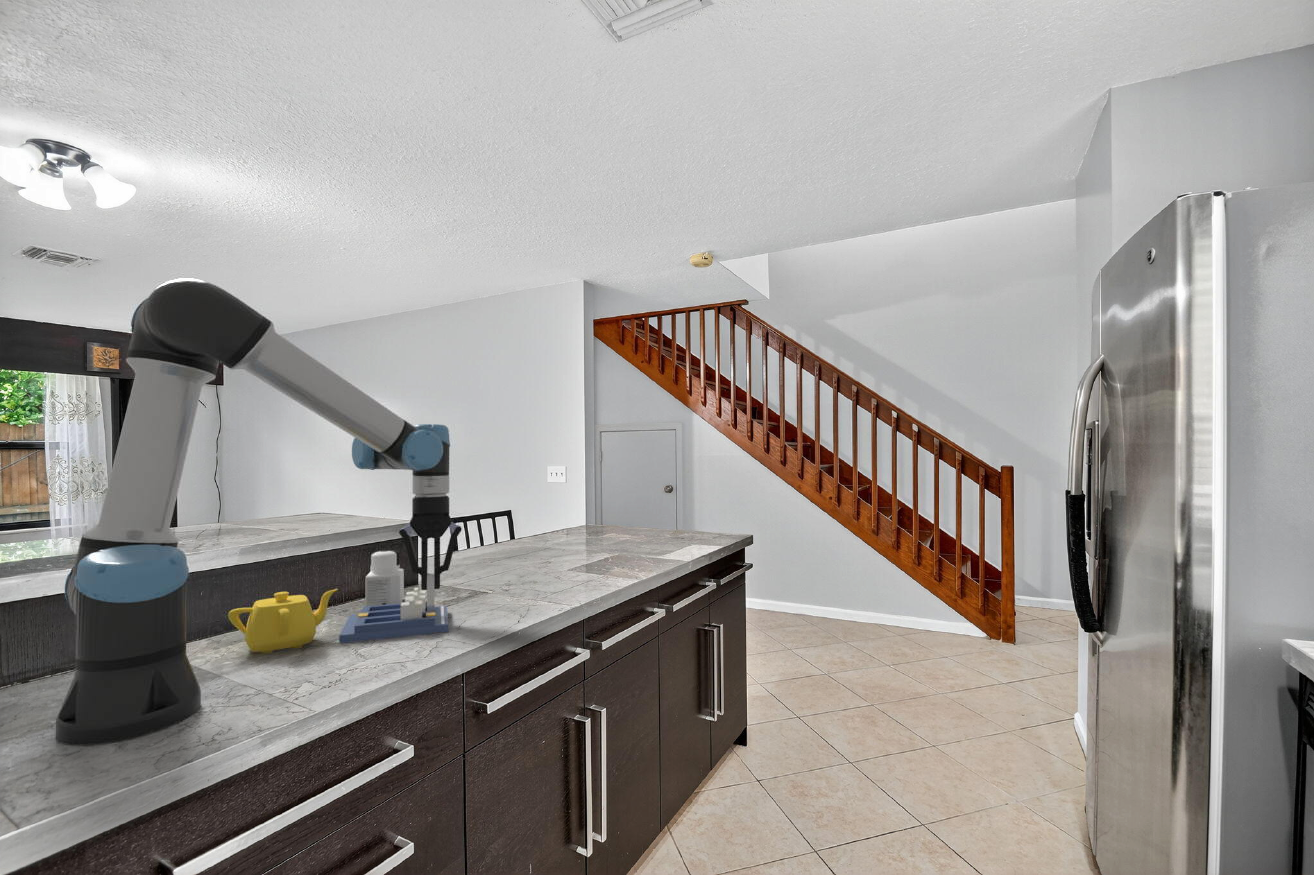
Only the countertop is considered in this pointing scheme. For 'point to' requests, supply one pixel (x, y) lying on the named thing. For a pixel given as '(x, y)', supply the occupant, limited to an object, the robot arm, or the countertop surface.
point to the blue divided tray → (392, 623)
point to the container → (384, 579)
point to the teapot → (280, 622)
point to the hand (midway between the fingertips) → (430, 604)
